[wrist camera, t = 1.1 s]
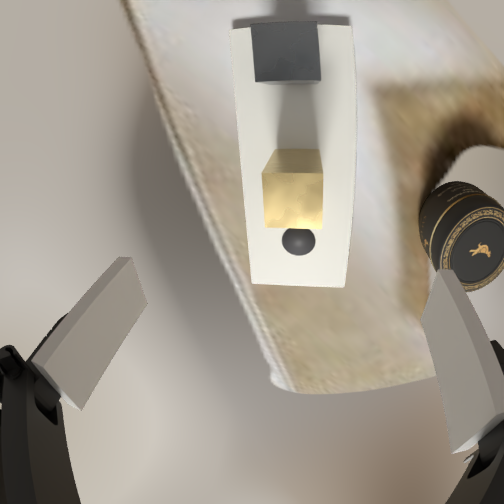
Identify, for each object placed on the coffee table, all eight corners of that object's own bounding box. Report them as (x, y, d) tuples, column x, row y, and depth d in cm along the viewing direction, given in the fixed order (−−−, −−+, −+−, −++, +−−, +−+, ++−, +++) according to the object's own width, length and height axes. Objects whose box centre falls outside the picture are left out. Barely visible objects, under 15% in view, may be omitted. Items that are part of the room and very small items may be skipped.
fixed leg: (268, 44, 20) (250, 24, 13) (314, 43, 20) (316, 21, 12) (272, 85, 22) (255, 82, 15) (317, 84, 22) (321, 80, 14)
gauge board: (232, 32, 21) (228, 29, 20) (349, 29, 19) (351, 26, 18) (254, 276, 36) (251, 283, 35) (343, 279, 34) (344, 287, 32)
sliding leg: (275, 148, 25) (261, 172, 18) (319, 148, 24) (323, 173, 17) (277, 188, 27) (264, 227, 20) (319, 189, 27) (322, 229, 20)
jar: (407, 187, 26) (433, 218, 20) (481, 167, 23) (518, 193, 16) (418, 263, 31) (437, 305, 24) (484, 242, 27) (512, 279, 21)
